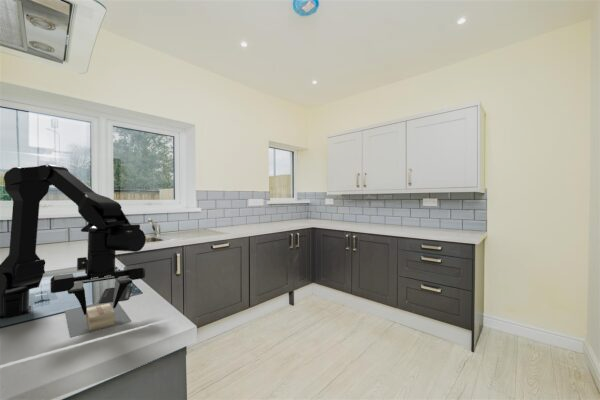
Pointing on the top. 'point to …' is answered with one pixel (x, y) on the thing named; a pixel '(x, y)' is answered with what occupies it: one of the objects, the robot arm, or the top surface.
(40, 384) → the top surface
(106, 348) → the top surface
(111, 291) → the phone
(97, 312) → the beige wooden block
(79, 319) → the mat
